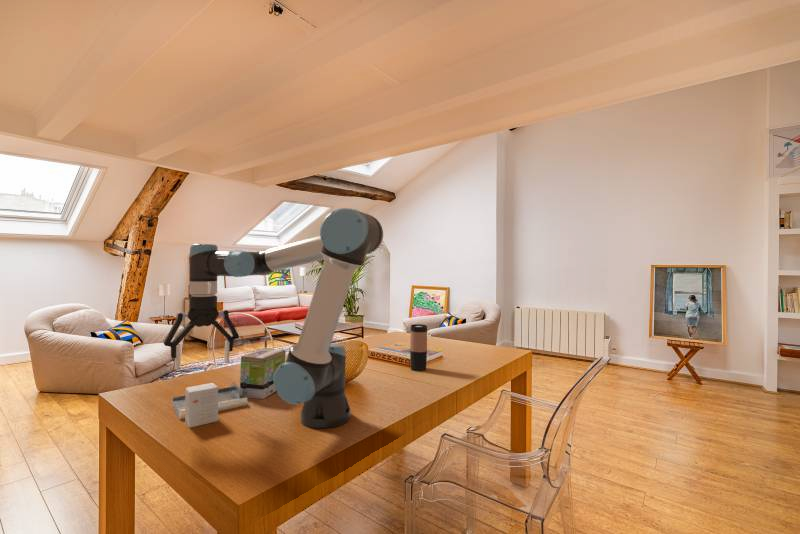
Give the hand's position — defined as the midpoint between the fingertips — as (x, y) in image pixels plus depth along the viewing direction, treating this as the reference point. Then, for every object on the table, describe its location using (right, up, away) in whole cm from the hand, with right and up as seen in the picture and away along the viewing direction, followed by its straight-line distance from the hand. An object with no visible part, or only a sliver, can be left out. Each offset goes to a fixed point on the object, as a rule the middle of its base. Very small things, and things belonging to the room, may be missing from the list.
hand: (202, 365), depth 116 cm
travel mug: (+68, -17, +60) cm, 92 cm away
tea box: (+9, -17, +27) cm, 33 cm away
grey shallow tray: (-4, -17, +13) cm, 21 cm away
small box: (0, -17, 0) cm, 17 cm away
